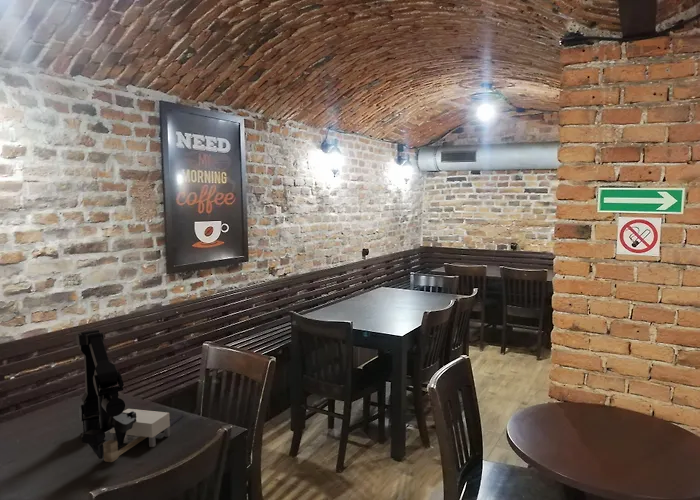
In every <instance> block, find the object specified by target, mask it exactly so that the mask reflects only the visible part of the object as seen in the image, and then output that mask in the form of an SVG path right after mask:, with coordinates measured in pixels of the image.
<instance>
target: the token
mask: <svg viewBox="0 0 700 500" xmlns="http://www.w3.org/2000/svg"><path fill="white" fill-rule="evenodd" d="M138 437H140V436H134V435H125V438H124V442H123V444H126V445H128V444H129V443H131V442H132V441H134V440H135V439H137V438H138ZM117 443H118V441H117Z"/></svg>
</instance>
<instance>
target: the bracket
mask: <svg viewBox="0 0 700 500" xmlns="http://www.w3.org/2000/svg"><path fill="white" fill-rule="evenodd" d="M183 418H184V414H182V413H180V414H179V415H178V416H176V417H173V418H170V428H172V427H173V426H174V425H175V424H176V423H178V422H179V421H180V420H182V419H183ZM173 424H174V425H173ZM162 432H163V433H164V430H163V431H162Z"/></svg>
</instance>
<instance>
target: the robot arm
mask: <svg viewBox="0 0 700 500" xmlns="http://www.w3.org/2000/svg"><path fill="white" fill-rule="evenodd" d="M75 338H76V339H75V343H76V345H77V347H78V348H79V350H80V352H81V353H82V354H83V362H84V365H83V366H84V367H83V368H84V383H85V384H84V385H85V386H84V387H85V391H84V393H83V396H82V397H81V399H80V401H81V402H80V405H79V408H78V418H79V420H80V422H82V426H83V427H82V428H83V429H82V430H83V432H81V433H79V436H81V443H82V444H88V446H89V447H90V448H91V449H92V451H93V452H94V453H95V455H96V456H97V458H98V460H102V459H104V446H103V444H104V443H106V442H107V440H106V439H105V438H106V433H108V432H110V430H112V429H113V428H114V429H115V433H116V437H117V441H118V442H117V443H118V446H119V447H122V446H123V445H124V443H123V442H124V438H125V435H126V432H127V431H128V430H129V429H132V426H133V423H135V422H136V421H137V420H136V412H134V411H131V412H130V413H124V412H123V411H125V410H126V403H125V401H124V400H123V398H121V396H120V395H119V392H121V391H124V385H125V384H124V381H123V378H122V373H120V371H119V370H118V369H117V367H116V364H114V363H112V362H111V361H110V359H109V356H108V353H107V348H106V346H105V344H104V343H105V342H106V341H105V332H104V331H100V330H99V329H98V328H97V329H92V330H84V331H80V332H79V334H78V335H76V337H75Z"/></svg>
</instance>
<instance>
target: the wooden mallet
mask: <svg viewBox="0 0 700 500" xmlns="http://www.w3.org/2000/svg"><path fill="white" fill-rule="evenodd" d="M146 438H148V437H143V436H140V437H138V438H137V439H135V440H134V441H132V442H131V443H129V444H126V445H124V446H123V447H122V448H120V449H119V447H118V446H119V444H118V442H117V441H115V440H110V439H109V440H106V441H105V442H104V443H103V460H104V462H106V463H107V462H108V463H114V462H115V461H116V460H118V459H119V457H120V456H121V455H122V454H125V453H126V452H128V451H129V450H130V449H132V448H133V447H134V446H136V445H138V444H139V443H140V442H143V440H145V439H146Z"/></svg>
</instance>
